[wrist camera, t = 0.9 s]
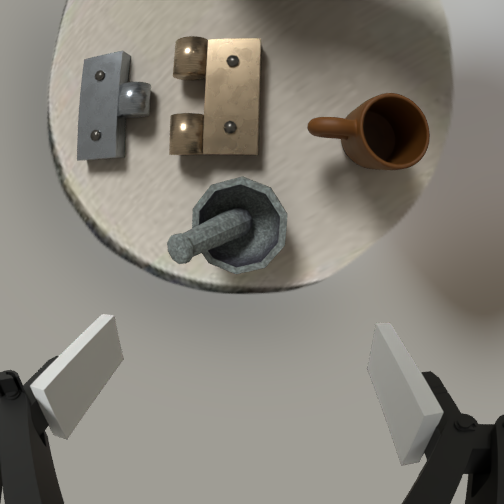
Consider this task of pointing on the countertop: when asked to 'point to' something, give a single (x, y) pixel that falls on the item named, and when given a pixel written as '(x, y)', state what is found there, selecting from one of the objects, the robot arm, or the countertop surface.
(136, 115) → the loose leaf
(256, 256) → the mortar and pestle
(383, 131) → the mug
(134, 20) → the countertop surface
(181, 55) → the fixed leaf
